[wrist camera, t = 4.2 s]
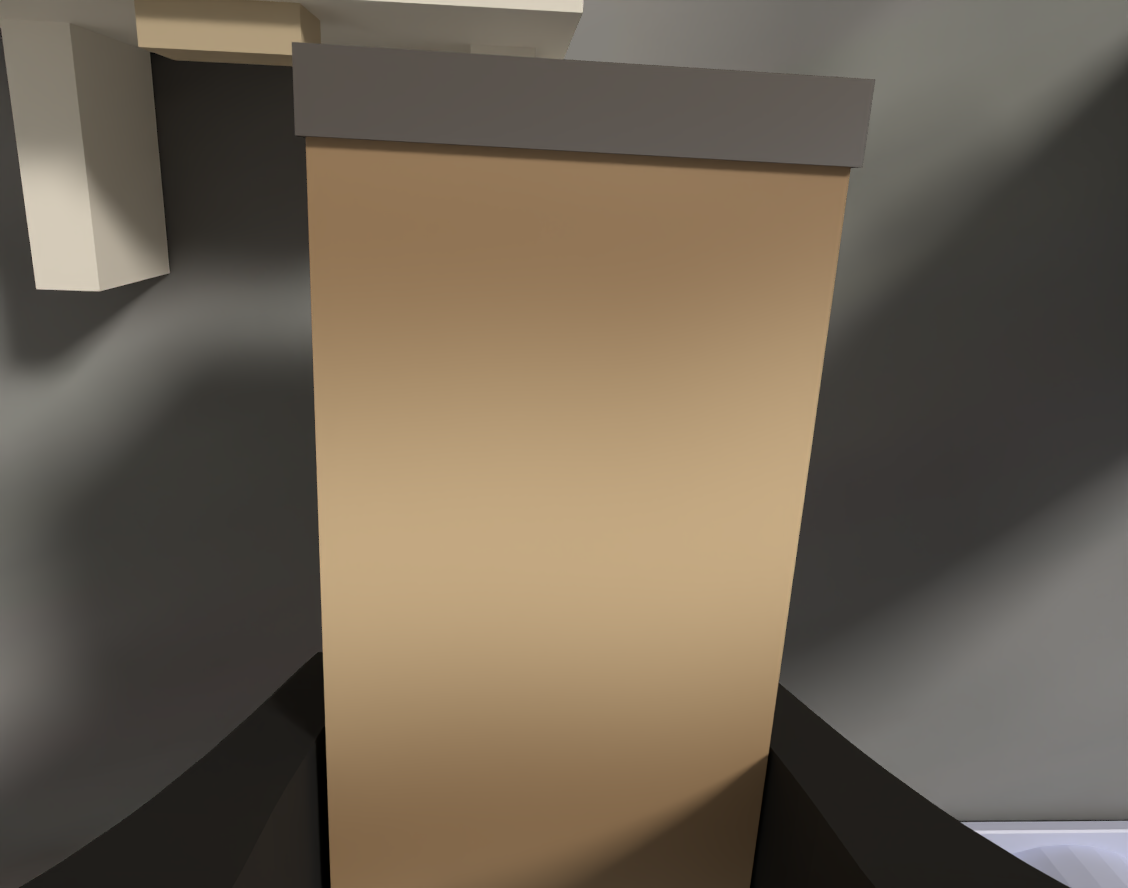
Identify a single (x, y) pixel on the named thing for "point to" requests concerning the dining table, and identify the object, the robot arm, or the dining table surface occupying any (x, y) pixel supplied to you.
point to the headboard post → (127, 110)
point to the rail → (561, 452)
